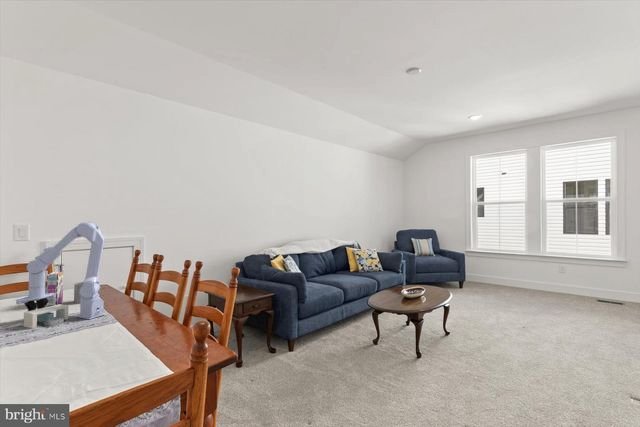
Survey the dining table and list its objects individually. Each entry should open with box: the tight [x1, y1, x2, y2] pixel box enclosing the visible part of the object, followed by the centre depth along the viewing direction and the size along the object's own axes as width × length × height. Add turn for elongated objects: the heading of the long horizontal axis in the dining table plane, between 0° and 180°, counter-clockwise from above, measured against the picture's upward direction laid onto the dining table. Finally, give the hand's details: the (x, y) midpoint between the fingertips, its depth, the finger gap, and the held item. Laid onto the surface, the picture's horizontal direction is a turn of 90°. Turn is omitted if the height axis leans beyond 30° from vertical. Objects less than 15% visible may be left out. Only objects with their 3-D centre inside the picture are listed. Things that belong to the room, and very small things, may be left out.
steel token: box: [42, 316, 64, 327], centre depth 145 cm, size 5×5×2 cm
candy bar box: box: [45, 271, 65, 307], centre depth 177 cm, size 11×5×16 cm, turn 25°
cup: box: [73, 281, 84, 305], centre depth 183 cm, size 8×8×10 cm
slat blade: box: [26, 309, 55, 323], centre depth 149 cm, size 15×2×4 cm, turn 69°
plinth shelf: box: [23, 303, 69, 329], centre depth 147 cm, size 6×14×6 cm, turn 159°
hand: (36, 316), depth 150 cm, fingers closed on slat blade, 2 cm apart
